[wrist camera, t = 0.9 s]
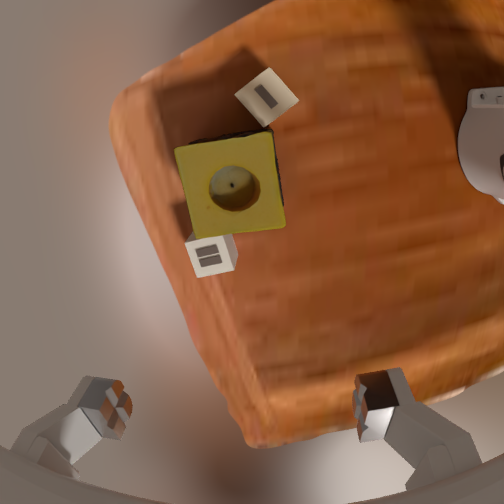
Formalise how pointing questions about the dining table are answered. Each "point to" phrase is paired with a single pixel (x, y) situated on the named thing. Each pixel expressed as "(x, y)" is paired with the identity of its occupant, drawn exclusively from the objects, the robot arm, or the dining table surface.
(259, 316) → the dining table surface
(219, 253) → the cream block marked
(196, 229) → the candle
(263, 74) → the beech block marked
